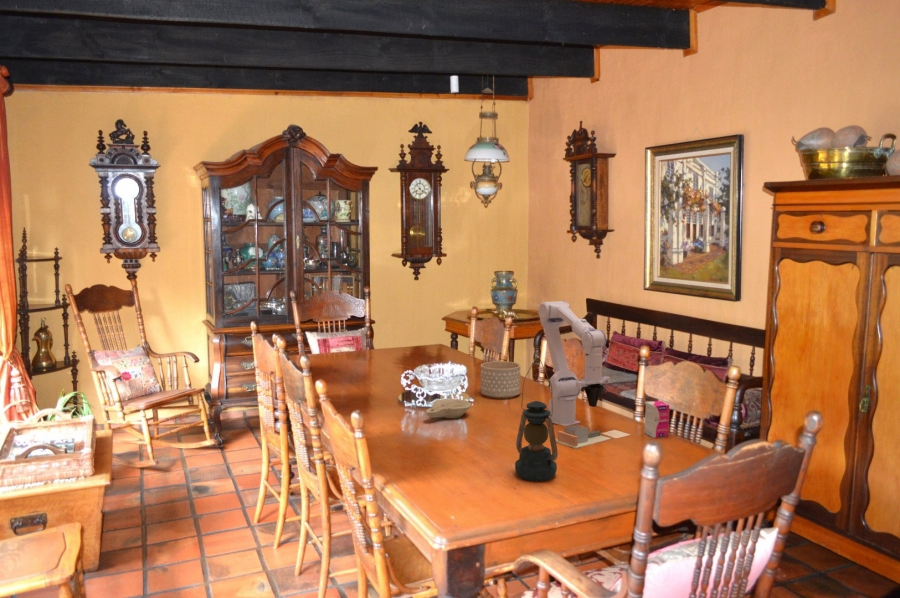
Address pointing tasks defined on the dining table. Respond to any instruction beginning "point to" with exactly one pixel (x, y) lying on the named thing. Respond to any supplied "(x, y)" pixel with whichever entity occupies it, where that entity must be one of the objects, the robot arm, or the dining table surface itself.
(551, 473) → the lantern
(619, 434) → the pad
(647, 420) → the supplement box
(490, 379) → the planter
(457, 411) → the oil lamp
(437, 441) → the dining table surface
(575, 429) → the clip
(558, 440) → the rail board
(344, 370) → the dining table surface
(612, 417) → the dining table surface
